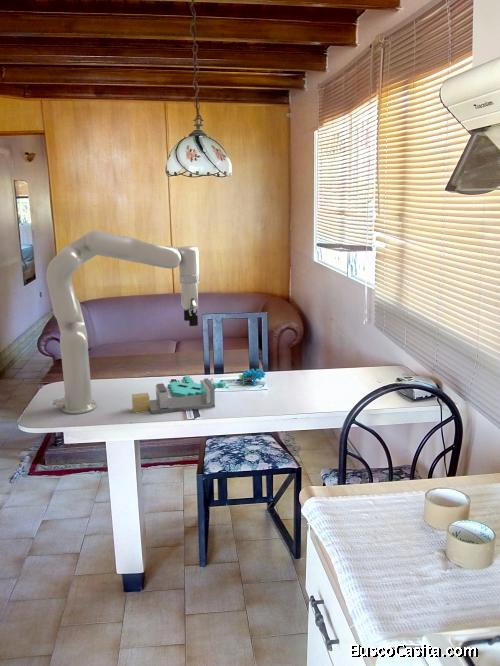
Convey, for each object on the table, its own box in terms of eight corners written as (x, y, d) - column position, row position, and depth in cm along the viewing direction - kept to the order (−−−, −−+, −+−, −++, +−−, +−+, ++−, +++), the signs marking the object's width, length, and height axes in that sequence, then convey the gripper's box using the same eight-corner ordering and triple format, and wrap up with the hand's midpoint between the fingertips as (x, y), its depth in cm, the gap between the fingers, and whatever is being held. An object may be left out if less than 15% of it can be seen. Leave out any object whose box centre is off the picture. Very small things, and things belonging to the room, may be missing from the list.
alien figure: (186, 380, 244) (158, 394, 227) (185, 375, 243) (158, 389, 226) (225, 387, 235) (199, 402, 218) (225, 382, 234) (199, 397, 217)
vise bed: (151, 414, 204) (150, 393, 203) (147, 404, 215) (146, 384, 213) (214, 407, 211) (214, 387, 210) (208, 397, 222) (207, 378, 220)
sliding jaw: (160, 408, 206) (159, 391, 204) (156, 399, 215) (155, 383, 213) (168, 407, 206) (167, 390, 205) (164, 398, 216) (163, 382, 214)
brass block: (133, 413, 206) (132, 397, 205) (132, 409, 210) (131, 394, 208) (149, 411, 208) (149, 396, 206) (148, 407, 211) (147, 392, 210)
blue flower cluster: (266, 376, 242) (263, 366, 233) (267, 389, 239) (264, 378, 230) (241, 379, 243) (237, 369, 234) (241, 391, 240) (238, 381, 231)
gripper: (175, 276, 219) (177, 319, 223) (184, 282, 203) (185, 328, 207) (194, 275, 221) (195, 317, 225) (204, 281, 205) (205, 327, 209)
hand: (190, 323), depth 216 cm, fingers open, 9 cm apart
